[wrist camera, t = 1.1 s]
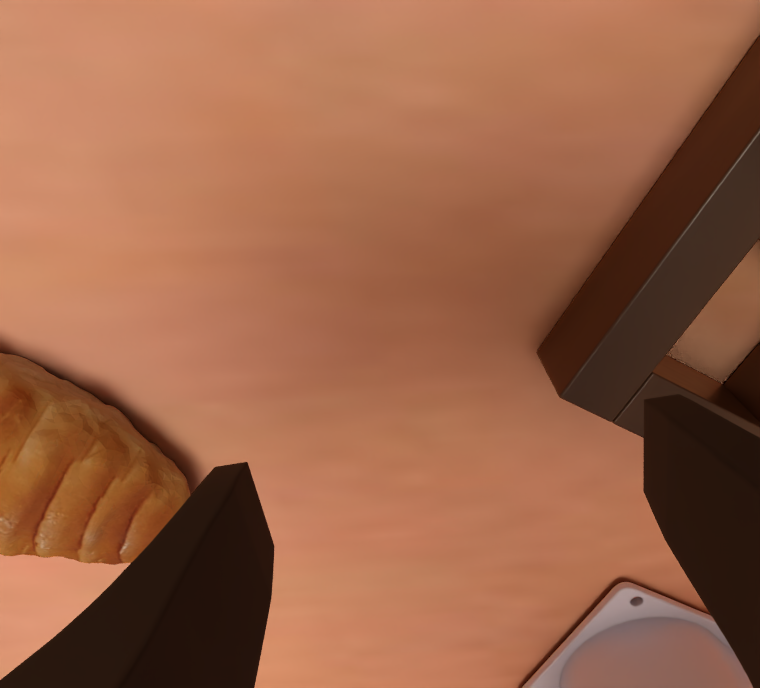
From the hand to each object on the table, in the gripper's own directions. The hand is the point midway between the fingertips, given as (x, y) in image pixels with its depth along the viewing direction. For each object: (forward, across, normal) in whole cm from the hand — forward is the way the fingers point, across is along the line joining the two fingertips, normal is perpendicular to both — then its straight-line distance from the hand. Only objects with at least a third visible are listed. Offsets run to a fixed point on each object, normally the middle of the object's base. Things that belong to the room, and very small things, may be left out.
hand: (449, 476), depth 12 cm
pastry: (+10, +13, +4) cm, 17 cm away
